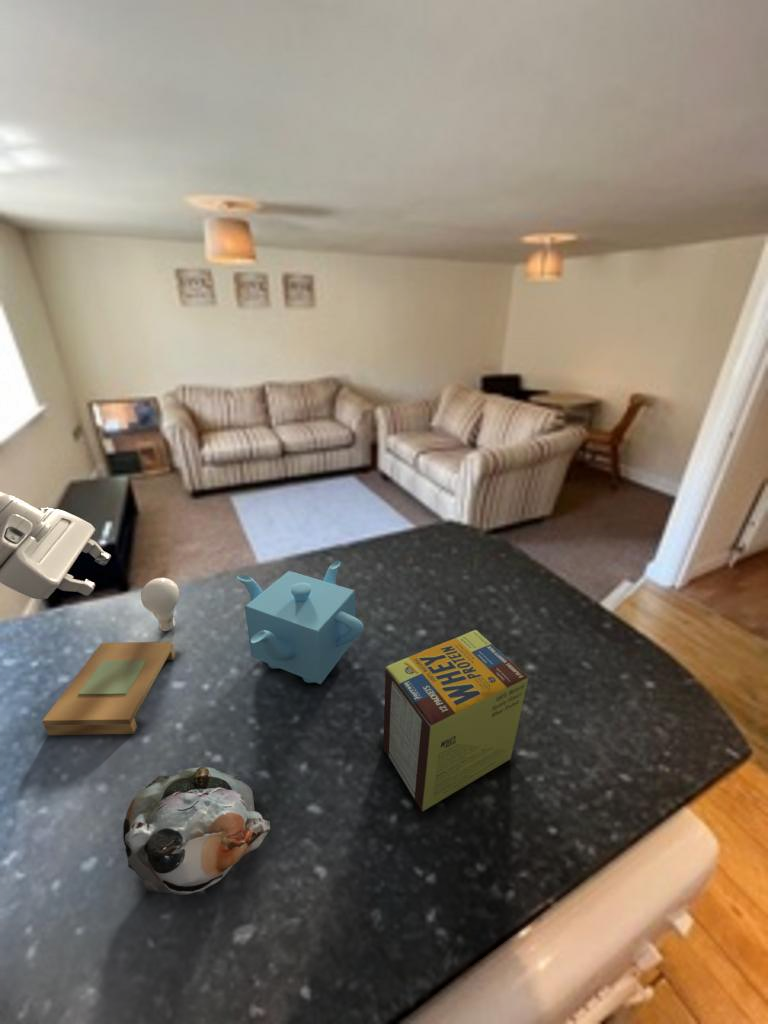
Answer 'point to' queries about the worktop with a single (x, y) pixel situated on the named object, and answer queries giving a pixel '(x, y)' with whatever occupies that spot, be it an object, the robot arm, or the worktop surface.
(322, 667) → the teakettle
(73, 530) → the robot arm
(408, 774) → the protein box
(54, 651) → the worktop surface
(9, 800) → the worktop surface
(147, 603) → the lightbulb
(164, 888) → the lucky cat figurine
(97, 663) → the shelf
